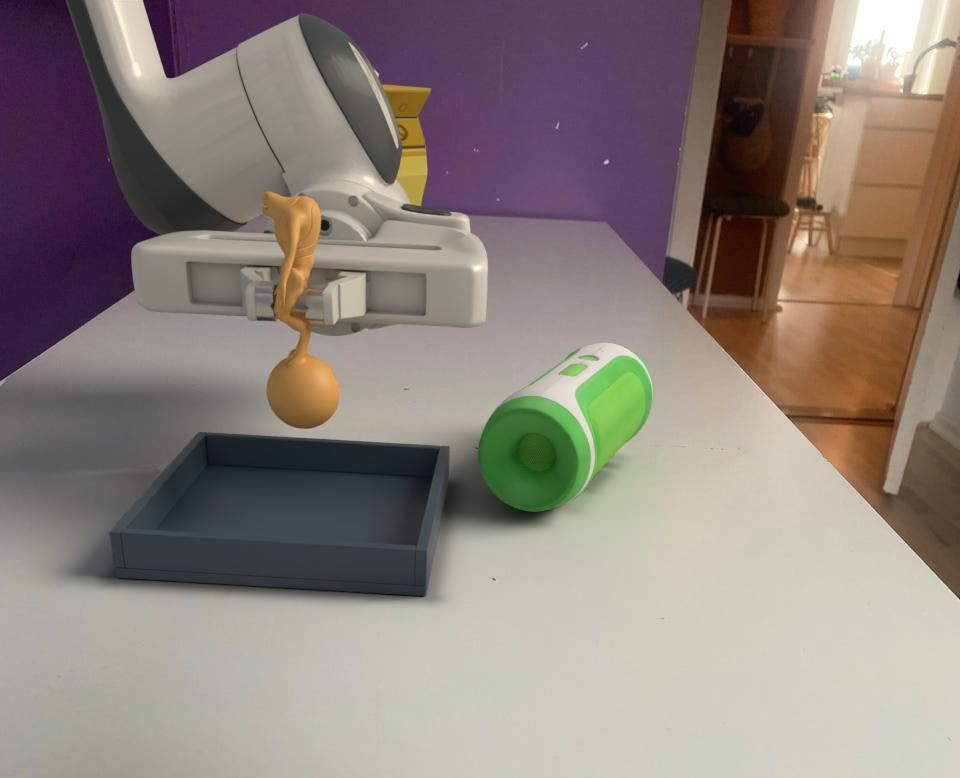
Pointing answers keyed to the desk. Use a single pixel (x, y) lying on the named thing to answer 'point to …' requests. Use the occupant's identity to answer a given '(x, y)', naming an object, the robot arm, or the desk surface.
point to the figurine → (298, 318)
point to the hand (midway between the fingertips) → (289, 307)
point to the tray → (289, 515)
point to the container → (410, 138)
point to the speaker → (564, 427)
